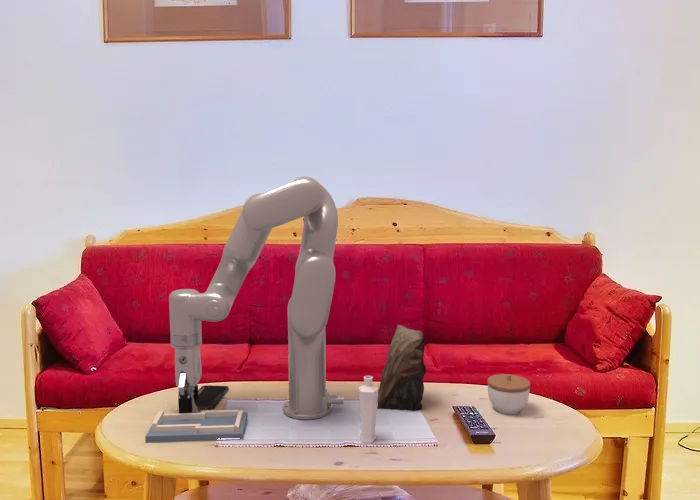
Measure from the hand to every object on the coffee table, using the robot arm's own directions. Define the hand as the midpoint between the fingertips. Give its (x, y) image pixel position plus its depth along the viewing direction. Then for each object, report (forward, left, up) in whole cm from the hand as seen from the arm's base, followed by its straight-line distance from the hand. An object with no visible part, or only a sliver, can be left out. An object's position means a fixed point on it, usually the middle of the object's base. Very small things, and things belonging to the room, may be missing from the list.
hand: (188, 405), depth 154 cm
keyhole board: (-4, +9, -2) cm, 10 cm away
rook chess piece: (0, 0, -3) cm, 3 cm away
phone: (-3, -11, -3) cm, 12 cm away
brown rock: (-54, -4, -3) cm, 54 cm away
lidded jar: (-82, +2, -3) cm, 82 cm away
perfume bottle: (-44, +17, -3) cm, 47 cm away
